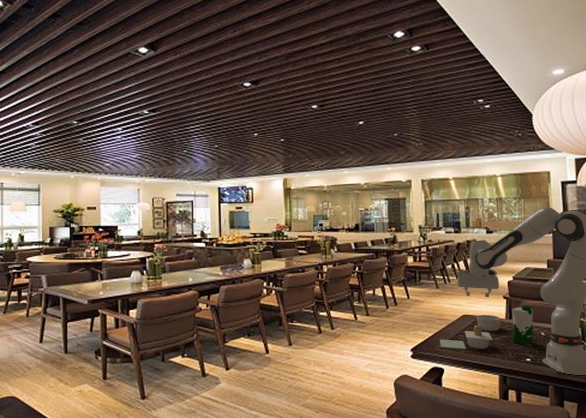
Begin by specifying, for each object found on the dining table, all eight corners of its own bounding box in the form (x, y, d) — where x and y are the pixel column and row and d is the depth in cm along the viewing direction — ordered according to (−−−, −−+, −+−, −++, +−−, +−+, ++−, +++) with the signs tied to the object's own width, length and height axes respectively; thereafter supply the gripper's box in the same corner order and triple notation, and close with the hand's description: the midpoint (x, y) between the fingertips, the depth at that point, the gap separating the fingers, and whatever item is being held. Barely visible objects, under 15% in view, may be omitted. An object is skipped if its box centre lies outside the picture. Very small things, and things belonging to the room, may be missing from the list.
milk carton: (527, 346, 222) (526, 308, 223) (510, 341, 230) (509, 305, 230) (535, 343, 227) (534, 306, 228) (518, 339, 235) (517, 303, 235)
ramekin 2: (472, 327, 259) (471, 316, 259) (486, 324, 265) (486, 313, 265) (491, 332, 247) (491, 321, 247) (505, 329, 253) (505, 318, 254)
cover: (492, 340, 215) (492, 330, 215) (467, 338, 219) (467, 328, 219) (488, 334, 227) (488, 324, 227) (464, 332, 230) (464, 322, 230)
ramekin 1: (486, 351, 215) (486, 340, 215) (463, 346, 222) (463, 336, 222) (492, 345, 223) (492, 335, 223) (470, 341, 231) (470, 332, 231)
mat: (465, 349, 217) (465, 348, 217) (441, 347, 221) (441, 346, 221) (463, 341, 230) (463, 341, 230) (439, 340, 233) (439, 339, 233)
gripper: (458, 270, 223) (457, 296, 224) (500, 272, 219) (499, 298, 219) (456, 268, 230) (455, 293, 230) (497, 270, 225) (496, 296, 225)
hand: (477, 296), depth 224 cm, fingers open, 8 cm apart
